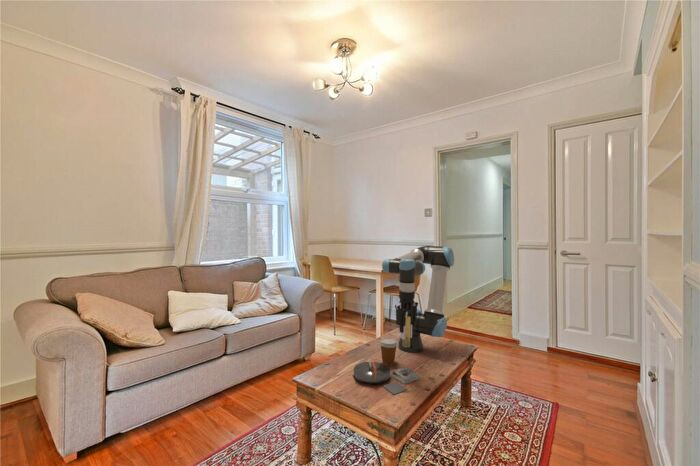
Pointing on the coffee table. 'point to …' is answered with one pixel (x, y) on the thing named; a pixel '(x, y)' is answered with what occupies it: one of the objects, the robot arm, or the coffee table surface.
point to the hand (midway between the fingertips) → (406, 337)
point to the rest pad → (395, 388)
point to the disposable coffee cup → (388, 350)
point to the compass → (371, 372)
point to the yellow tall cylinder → (407, 332)
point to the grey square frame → (405, 379)
